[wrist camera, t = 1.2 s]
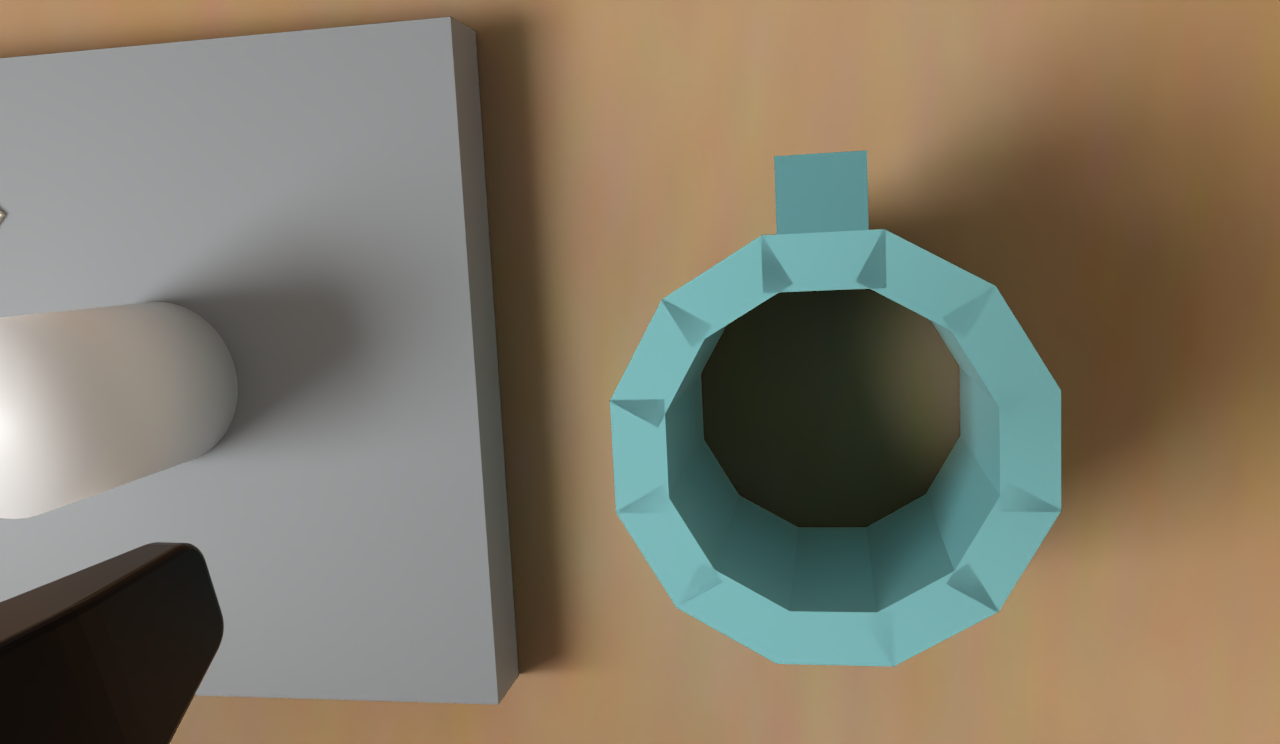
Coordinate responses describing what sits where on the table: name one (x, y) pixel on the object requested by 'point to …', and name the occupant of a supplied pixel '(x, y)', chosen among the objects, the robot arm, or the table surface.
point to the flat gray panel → (264, 348)
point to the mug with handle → (838, 556)
